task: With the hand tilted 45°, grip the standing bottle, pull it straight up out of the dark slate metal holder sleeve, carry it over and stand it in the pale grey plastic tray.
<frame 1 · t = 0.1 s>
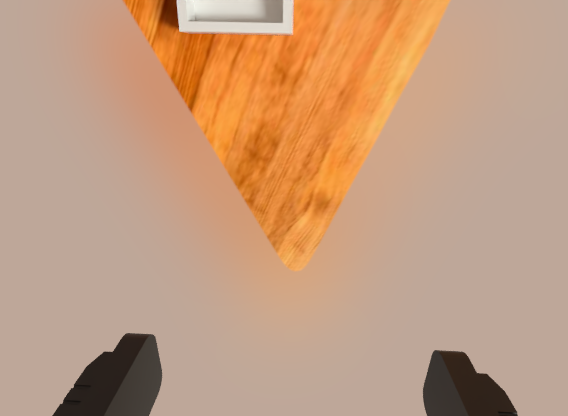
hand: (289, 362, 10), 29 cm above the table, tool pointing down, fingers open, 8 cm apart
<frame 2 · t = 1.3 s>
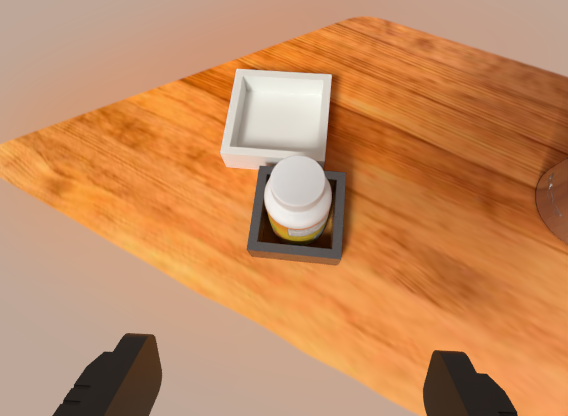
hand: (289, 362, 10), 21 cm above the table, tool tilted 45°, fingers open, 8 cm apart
supplement bottle: (298, 220, 33), resting in holder sleeve
tray: (279, 128, 37), on the table
holder sleeve: (298, 219, 33), on the table
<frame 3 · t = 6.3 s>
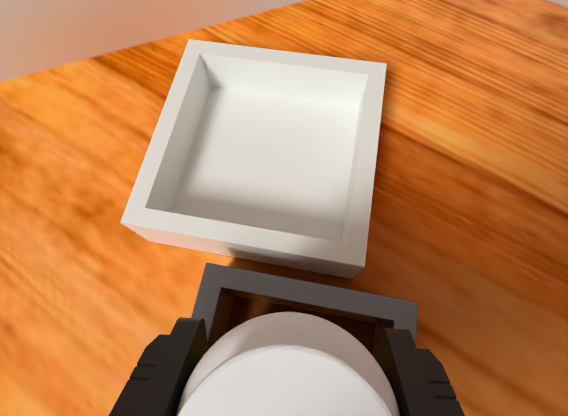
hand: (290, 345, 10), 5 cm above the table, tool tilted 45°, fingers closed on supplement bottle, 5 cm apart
supplement bottle: (290, 387, 14), resting in holder sleeve, touching gripper
tray: (269, 167, 18), on the table
holder sleeve: (290, 387, 14), on the table
when the fingers open (7 cm above the table, at t = 11.4 s): supplement bottle drops 1 cm, resting on tray.
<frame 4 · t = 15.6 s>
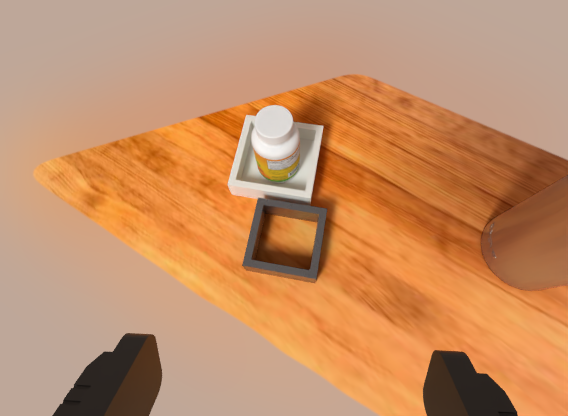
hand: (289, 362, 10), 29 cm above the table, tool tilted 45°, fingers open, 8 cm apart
supplement bottle: (278, 166, 44), resting on tray
tray: (278, 165, 44), on the table
holder sleeve: (286, 243, 41), on the table
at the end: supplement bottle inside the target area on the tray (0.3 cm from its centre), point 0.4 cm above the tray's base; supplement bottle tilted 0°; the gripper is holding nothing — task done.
